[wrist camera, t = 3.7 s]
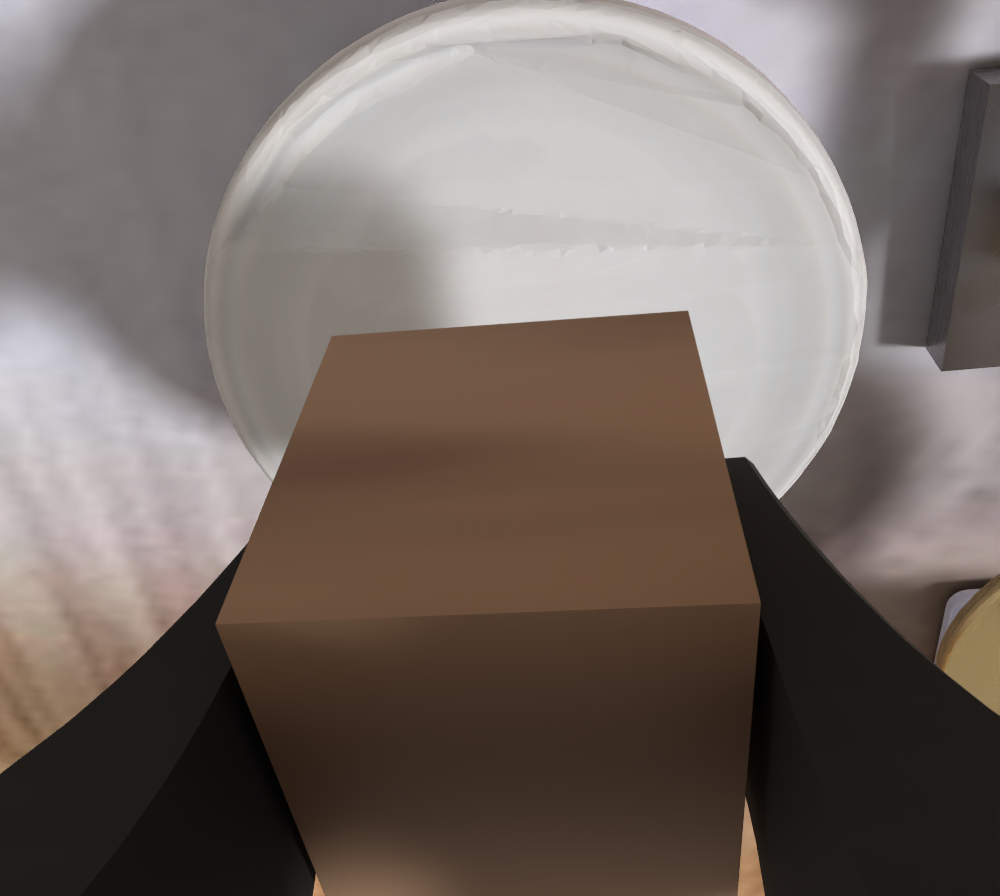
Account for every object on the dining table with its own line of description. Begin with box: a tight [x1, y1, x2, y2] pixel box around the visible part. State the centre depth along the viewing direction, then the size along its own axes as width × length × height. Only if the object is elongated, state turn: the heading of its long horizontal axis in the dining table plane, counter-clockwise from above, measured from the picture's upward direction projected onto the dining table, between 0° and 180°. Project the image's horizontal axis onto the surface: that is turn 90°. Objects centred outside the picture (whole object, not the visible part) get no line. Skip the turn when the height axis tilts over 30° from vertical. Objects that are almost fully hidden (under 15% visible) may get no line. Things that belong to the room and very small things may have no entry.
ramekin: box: [204, 0, 867, 499], centre depth 18 cm, size 11×11×5 cm
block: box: [215, 311, 761, 896], centre depth 11 cm, size 4×4×5 cm
